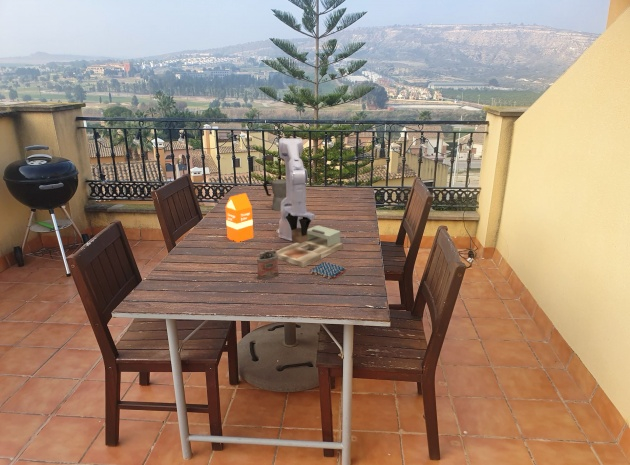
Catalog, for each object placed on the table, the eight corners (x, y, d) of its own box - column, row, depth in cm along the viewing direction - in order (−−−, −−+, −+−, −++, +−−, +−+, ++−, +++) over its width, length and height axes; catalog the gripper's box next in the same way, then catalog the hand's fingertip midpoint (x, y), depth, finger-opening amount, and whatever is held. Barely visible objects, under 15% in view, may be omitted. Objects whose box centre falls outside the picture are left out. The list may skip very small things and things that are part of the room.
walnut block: (291, 241, 184) (291, 230, 182) (299, 237, 187) (298, 227, 186) (300, 243, 181) (300, 232, 180) (307, 240, 184) (307, 229, 183)
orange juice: (253, 237, 208) (251, 194, 201) (237, 242, 202) (235, 198, 195) (242, 233, 213) (240, 191, 206) (227, 238, 207) (224, 195, 200)
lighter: (259, 280, 166) (258, 254, 163) (256, 276, 169) (255, 251, 166) (280, 275, 170) (279, 250, 166) (276, 272, 172) (275, 247, 169)
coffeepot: (290, 205, 256) (290, 173, 250) (293, 210, 247) (293, 177, 241) (263, 207, 253) (261, 174, 247) (265, 211, 244) (263, 178, 238)
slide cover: (305, 240, 198) (305, 228, 196) (317, 235, 204) (317, 223, 202) (328, 246, 190) (329, 234, 189) (340, 241, 196) (340, 229, 194)
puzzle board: (273, 257, 186) (272, 252, 185) (313, 239, 205) (313, 234, 204) (303, 267, 177) (303, 262, 176) (342, 247, 196) (342, 243, 195)
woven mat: (332, 281, 166) (332, 276, 165) (308, 274, 172) (308, 269, 171) (347, 271, 174) (347, 267, 173) (324, 265, 180) (324, 260, 179)
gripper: (277, 199, 180) (278, 232, 184) (306, 206, 171) (306, 240, 176) (289, 196, 185) (290, 228, 189) (318, 202, 176) (318, 235, 181)
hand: (299, 233), depth 183 cm, fingers closed on walnut block, 4 cm apart
